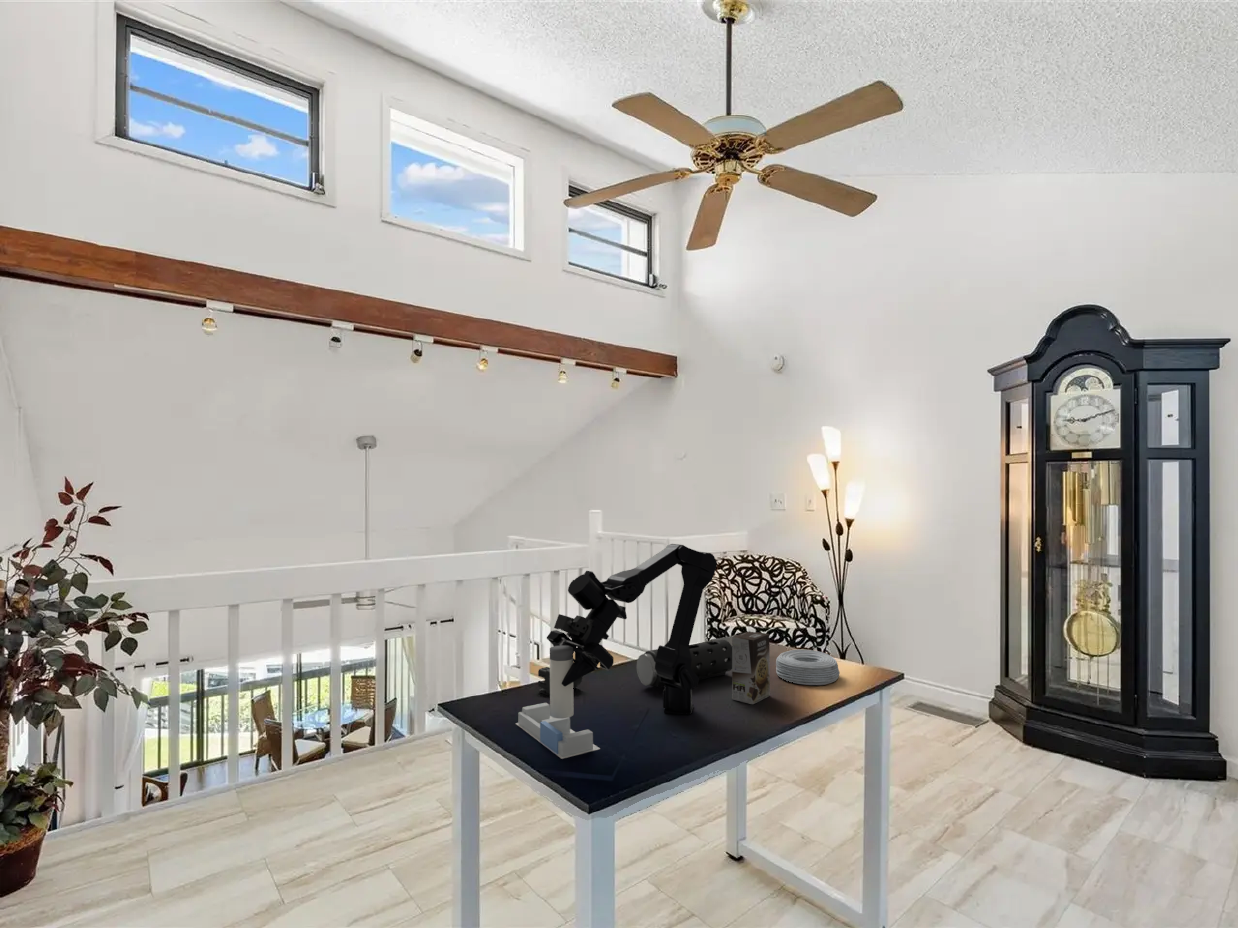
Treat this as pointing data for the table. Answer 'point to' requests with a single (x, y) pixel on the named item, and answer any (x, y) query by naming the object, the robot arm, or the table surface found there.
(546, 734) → the white slotted stand
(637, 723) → the table surface
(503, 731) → the table surface
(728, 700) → the table surface
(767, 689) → the cookie box
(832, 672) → the cable
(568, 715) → the white capped cylinder
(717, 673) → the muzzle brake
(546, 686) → the black piece
